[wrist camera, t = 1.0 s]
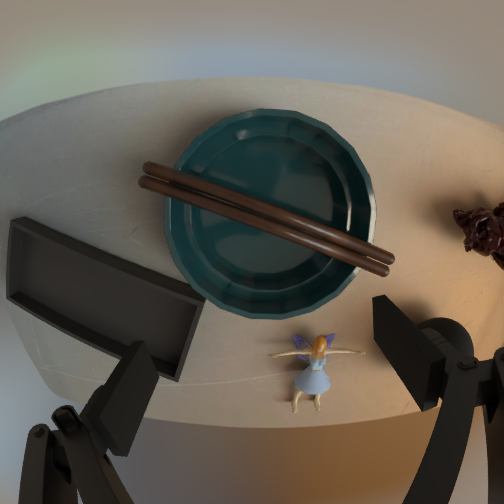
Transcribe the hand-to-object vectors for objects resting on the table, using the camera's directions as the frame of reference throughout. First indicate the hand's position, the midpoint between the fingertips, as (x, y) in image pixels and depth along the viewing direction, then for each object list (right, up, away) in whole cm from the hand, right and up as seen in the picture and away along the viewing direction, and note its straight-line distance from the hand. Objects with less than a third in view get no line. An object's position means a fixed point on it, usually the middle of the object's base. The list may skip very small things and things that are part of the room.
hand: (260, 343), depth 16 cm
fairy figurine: (+7, -9, +19) cm, 23 cm away
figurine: (+31, +8, +15) cm, 35 cm away
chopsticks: (+1, +8, +9) cm, 12 cm away
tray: (-19, 0, +17) cm, 26 cm away
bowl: (+1, +9, +15) cm, 17 cm away
